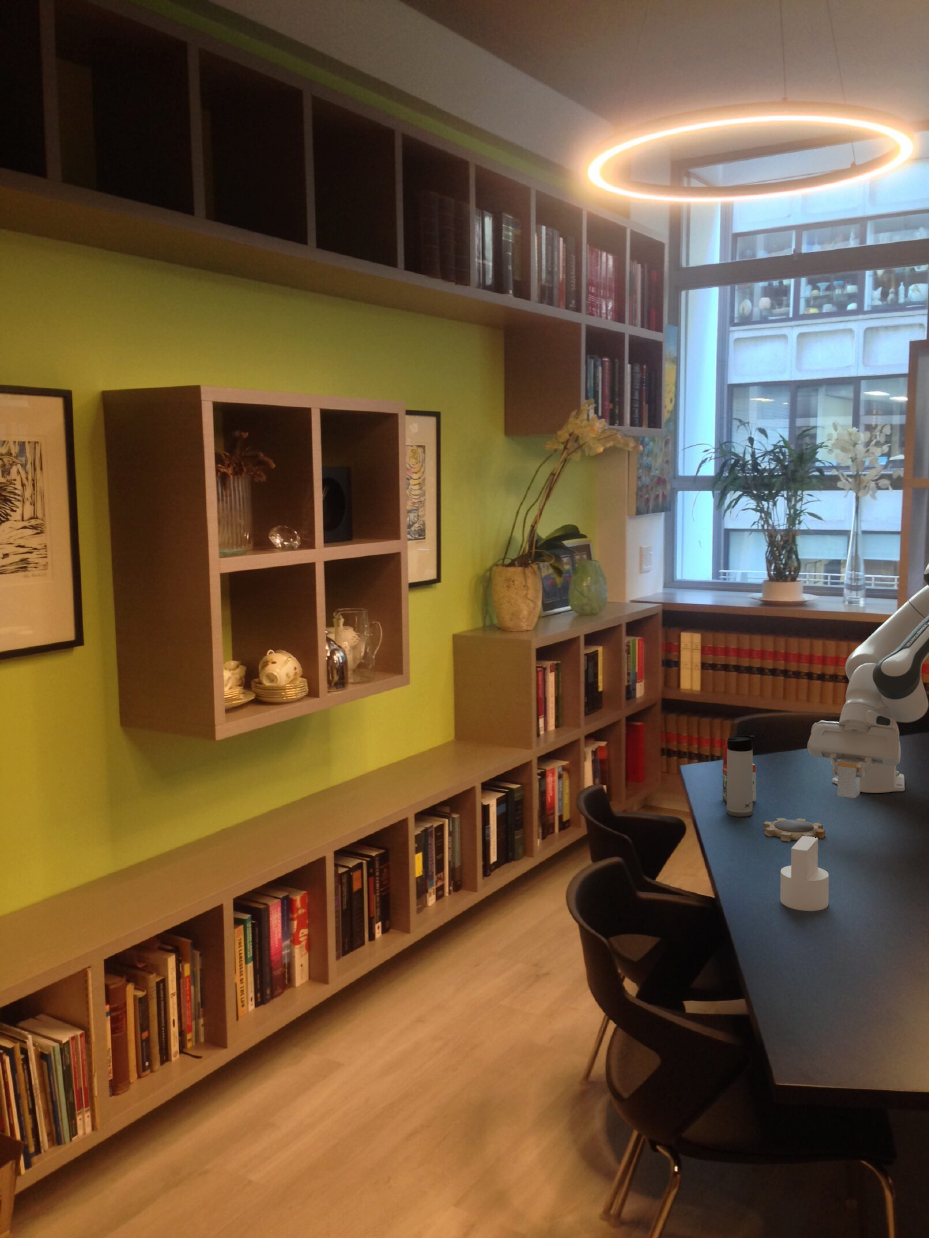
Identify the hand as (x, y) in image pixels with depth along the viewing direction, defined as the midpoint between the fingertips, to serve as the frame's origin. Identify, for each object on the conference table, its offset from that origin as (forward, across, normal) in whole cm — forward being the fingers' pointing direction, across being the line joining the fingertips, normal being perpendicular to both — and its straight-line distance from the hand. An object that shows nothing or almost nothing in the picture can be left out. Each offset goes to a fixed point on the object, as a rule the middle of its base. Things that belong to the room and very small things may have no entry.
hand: (847, 774), depth 240 cm
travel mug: (+4, -28, +20) cm, 35 cm away
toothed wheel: (+10, -12, +13) cm, 21 cm away
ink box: (-4, -33, +27) cm, 43 cm away
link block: (+3, 0, +4) cm, 5 cm away
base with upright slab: (+40, +2, -17) cm, 43 cm away
